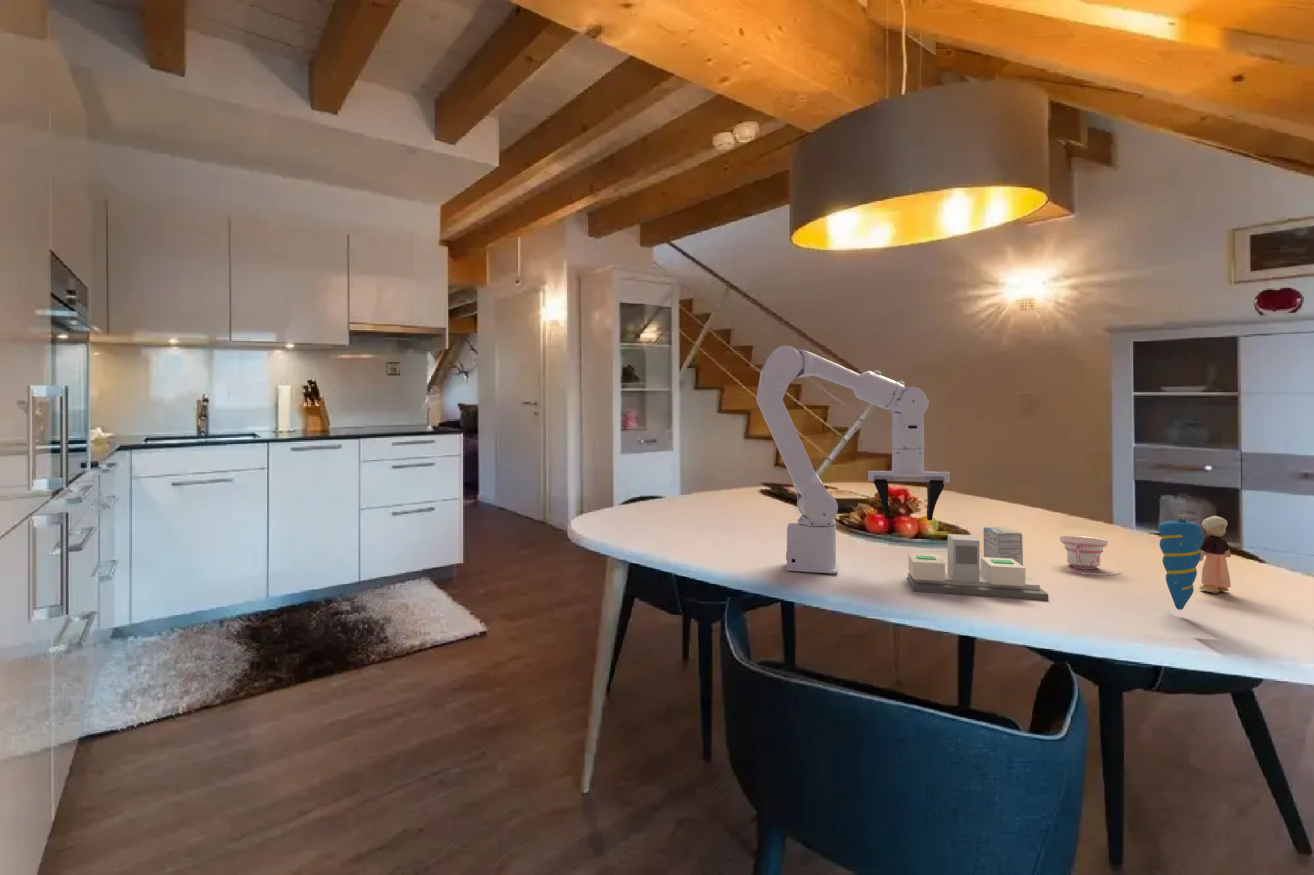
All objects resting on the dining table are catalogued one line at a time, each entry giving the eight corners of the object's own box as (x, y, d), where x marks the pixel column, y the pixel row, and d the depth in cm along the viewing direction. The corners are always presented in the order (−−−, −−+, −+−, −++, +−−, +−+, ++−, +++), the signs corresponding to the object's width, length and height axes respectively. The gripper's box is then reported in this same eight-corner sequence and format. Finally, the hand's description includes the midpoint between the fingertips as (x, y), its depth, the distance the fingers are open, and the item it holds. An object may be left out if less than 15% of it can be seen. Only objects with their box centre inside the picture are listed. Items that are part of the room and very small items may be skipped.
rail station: (913, 591, 102) (913, 561, 102) (907, 577, 112) (907, 551, 112) (1048, 600, 96) (1048, 569, 96) (1029, 585, 106) (1029, 557, 106)
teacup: (1056, 561, 127) (1056, 532, 127) (1127, 570, 119) (1127, 539, 119) (1041, 570, 119) (1041, 539, 119) (1116, 580, 110) (1116, 547, 110)
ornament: (1149, 605, 93) (1149, 509, 93) (1179, 604, 94) (1179, 508, 94) (1181, 614, 88) (1181, 513, 88) (1213, 614, 89) (1213, 512, 89)
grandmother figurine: (1220, 595, 99) (1219, 518, 99) (1191, 589, 103) (1190, 516, 103) (1240, 589, 103) (1240, 515, 103) (1211, 584, 106) (1211, 513, 106)
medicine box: (1023, 580, 110) (1023, 533, 110) (997, 579, 111) (997, 532, 111) (1007, 571, 118) (1007, 527, 118) (983, 570, 119) (982, 526, 119)
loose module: (953, 580, 102) (953, 539, 102) (947, 572, 108) (947, 534, 108) (979, 582, 101) (979, 540, 101) (972, 574, 107) (972, 535, 107)
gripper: (869, 449, 115) (869, 520, 115) (952, 449, 110) (952, 523, 110) (867, 448, 121) (867, 515, 121) (946, 448, 117) (946, 518, 117)
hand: (907, 518), depth 116 cm, fingers open, 7 cm apart
